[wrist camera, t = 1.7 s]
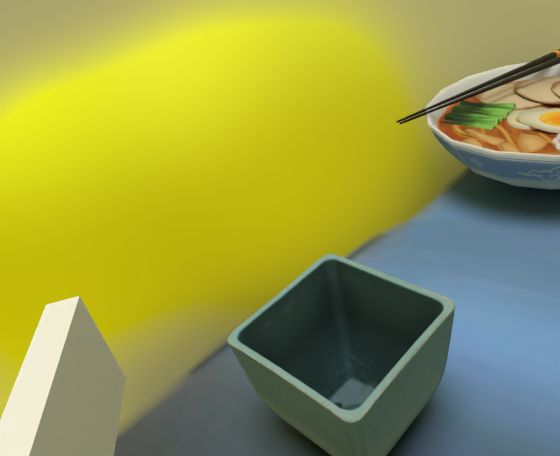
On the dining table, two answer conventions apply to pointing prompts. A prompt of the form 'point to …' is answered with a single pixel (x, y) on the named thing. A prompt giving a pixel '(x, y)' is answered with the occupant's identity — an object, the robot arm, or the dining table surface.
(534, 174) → the ramen bowl
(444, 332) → the flower pot
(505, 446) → the dining table surface
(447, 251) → the dining table surface
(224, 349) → the dining table surface
